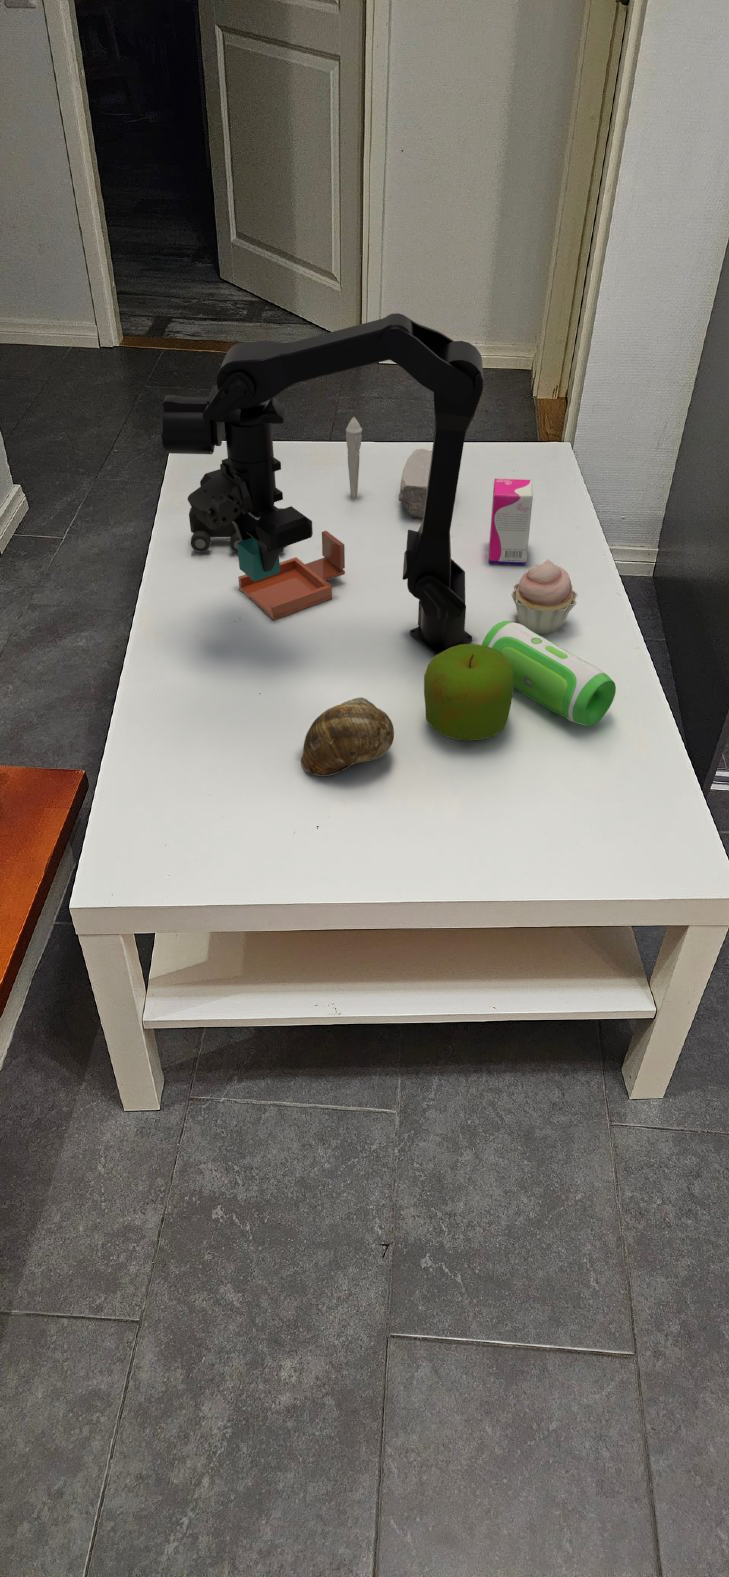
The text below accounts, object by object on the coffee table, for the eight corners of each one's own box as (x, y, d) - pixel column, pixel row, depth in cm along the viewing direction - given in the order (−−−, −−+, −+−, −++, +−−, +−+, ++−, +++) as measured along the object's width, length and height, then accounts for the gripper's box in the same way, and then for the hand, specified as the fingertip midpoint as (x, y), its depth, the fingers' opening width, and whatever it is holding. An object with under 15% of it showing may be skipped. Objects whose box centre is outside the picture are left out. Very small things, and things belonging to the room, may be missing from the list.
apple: (485, 690, 141) (491, 620, 134) (525, 738, 134) (534, 667, 127) (408, 710, 138) (410, 639, 131) (444, 761, 131) (448, 689, 123)
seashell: (390, 732, 135) (391, 680, 129) (396, 781, 128) (397, 729, 123) (300, 735, 134) (297, 684, 129) (301, 785, 127) (298, 733, 122)
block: (280, 572, 144) (278, 546, 142) (254, 581, 143) (252, 555, 140) (264, 560, 147) (262, 533, 144) (239, 569, 145) (236, 542, 142)
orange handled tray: (354, 590, 159) (354, 551, 155) (273, 620, 153) (270, 580, 149) (318, 561, 165) (317, 523, 161) (239, 589, 160) (235, 550, 155)
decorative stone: (449, 482, 185) (391, 481, 184) (453, 444, 180) (394, 443, 180) (459, 525, 174) (398, 524, 174) (463, 485, 170) (401, 485, 169)
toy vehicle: (196, 528, 173) (190, 478, 167) (289, 529, 173) (286, 478, 167) (189, 555, 167) (183, 503, 161) (286, 555, 167) (283, 503, 161)
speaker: (474, 676, 143) (478, 629, 138) (511, 655, 147) (517, 608, 142) (576, 739, 134) (584, 691, 129) (613, 715, 137) (623, 667, 132)
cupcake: (569, 604, 156) (578, 543, 149) (577, 641, 149) (587, 579, 143) (504, 604, 156) (511, 543, 150) (510, 641, 149) (517, 578, 143)
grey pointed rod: (351, 492, 182) (350, 412, 172) (365, 496, 181) (365, 415, 171) (343, 498, 180) (342, 417, 171) (357, 502, 179) (356, 421, 170)
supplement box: (525, 546, 168) (533, 478, 161) (526, 566, 164) (533, 497, 156) (488, 545, 169) (494, 476, 161) (487, 564, 165) (493, 495, 157)
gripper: (157, 443, 136) (173, 553, 146) (232, 500, 124) (243, 614, 135) (233, 421, 140) (243, 529, 151) (312, 474, 129) (317, 586, 140)
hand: (259, 563), depth 144 cm, fingers closed on block, 4 cm apart
